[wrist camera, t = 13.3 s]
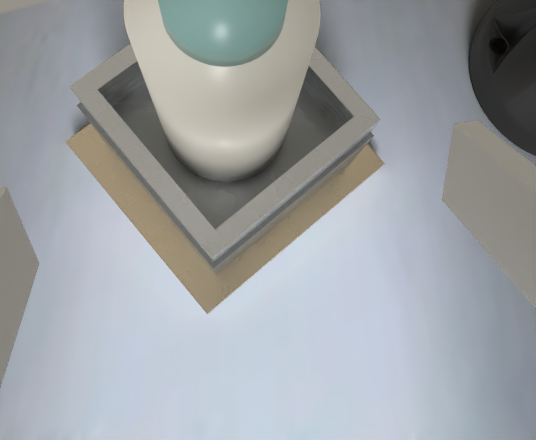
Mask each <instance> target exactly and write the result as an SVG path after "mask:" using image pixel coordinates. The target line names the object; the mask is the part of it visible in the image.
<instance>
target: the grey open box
mask: <svg viewBox="0 0 536 440" xmlns="http://www.w3.org/2000/svg"><path fill="white" fill-rule="evenodd" d="M69 87H70V88H71V90H72V91H73V92H74V94H75V95H76V97H77V98H78V99H79V101H80V102H81V103H79V104H78V105H77V106H78V107H79V109H80V110H81V111H82V113H83V114H84V115H85V117H86V118H87V119H88V121H89V122H90V124H89V125H88V126H86V127H85V128H83V129H82V130H81V131H79V132H78V133H77V134H75V135H74V136H73V137H71V138H70V139H68V140H67V141H66V143H67V144H68V146H69V147H70V148H71V149H72V150H73V152H74V153H75V154H76V155H77V157H78V158H79V159H80V160H81V161H82V163H83V164H84V165H85V166H86V167H87V169H88V170H89V171H90V172H91V174H92V175H93V176H94V177H95V178H96V180H97V181H98V182H99V183H100V184H101V186H102V187H103V188H104V189H105V191H106V192H107V193H108V194H109V195H110V197H111V198H112V199H113V200H114V201H115V203H116V204H117V205H118V206H119V208H120V209H121V210H122V211H123V212H124V214H125V215H126V216H127V217H128V218H129V220H130V221H131V222H132V223H133V225H134V226H135V227H136V228H137V229H138V231H139V232H140V233H141V234H142V235H143V237H144V238H145V239H146V240H147V242H148V243H149V244H150V245H151V246H152V248H153V249H154V250H155V251H156V252H157V254H158V255H159V256H160V257H161V259H162V260H163V261H164V262H165V263H166V265H167V266H168V267H169V268H170V269H171V271H172V272H173V273H174V274H175V276H176V277H177V278H178V279H179V280H180V282H181V283H182V284H183V285H184V286H185V288H186V289H187V290H188V291H189V293H190V294H191V295H192V296H193V297H194V299H195V300H196V301H197V302H198V303H199V305H200V306H201V307H202V308H203V310H204V311H205V312H206V313H207V314H209V313H210V312H211V311H212V310H213V309H214V308H216V307H217V306H218V305H219V304H220V303H221V302H223V301H224V300H225V299H226V298H227V297H229V296H230V295H231V294H232V293H233V292H234V291H236V290H237V289H238V288H239V287H240V286H242V285H243V284H244V283H245V282H246V281H247V280H249V279H250V278H251V277H252V276H253V275H254V274H256V273H257V272H258V271H259V270H260V269H262V268H263V267H264V266H265V265H266V264H267V263H269V262H270V261H271V260H272V259H273V258H275V257H276V256H277V255H278V254H279V253H280V252H282V251H283V250H284V249H285V248H286V247H288V246H289V245H290V244H291V243H292V242H293V241H295V240H296V239H297V238H298V237H299V236H300V235H302V234H303V233H304V232H305V231H306V230H308V229H309V228H310V227H311V226H312V225H313V224H315V223H316V222H317V221H318V220H319V219H321V218H322V217H323V216H324V215H325V214H326V213H328V212H329V211H330V210H331V209H332V208H333V207H335V206H336V205H337V204H338V203H339V202H341V201H342V200H343V199H344V198H345V197H346V196H348V195H349V194H350V193H351V192H352V191H354V190H355V189H356V188H357V187H358V186H359V185H361V184H362V183H363V182H364V181H365V180H366V179H368V178H369V177H370V176H371V175H372V174H374V173H375V172H376V171H377V170H378V169H379V168H380V167H381V166H382V165H383V164H384V162H383V161H382V160H381V159H380V158H379V156H378V155H377V154H376V153H375V152H374V151H373V150H372V149H371V147H370V146H369V145H368V144H367V143H368V142H369V141H370V140H371V138H372V137H373V136H374V135H373V134H372V133H371V130H372V129H373V128H374V127H375V125H376V124H377V123H378V122H379V120H380V118H379V117H378V116H377V115H376V114H375V113H374V111H373V110H372V109H371V108H370V107H369V106H368V105H367V104H366V103H365V101H364V100H363V99H362V98H361V97H360V96H359V95H358V94H357V93H356V91H355V90H354V89H353V88H352V87H351V86H350V85H349V84H348V83H347V81H346V80H345V79H344V78H343V77H342V76H341V75H340V74H339V73H338V71H337V70H336V69H335V68H334V67H333V66H332V65H331V64H330V63H329V61H328V60H327V59H326V58H325V57H324V56H323V55H322V54H321V52H320V51H319V50H318V49H317V48H316V47H314V50H313V54H312V57H311V60H310V63H309V66H308V69H307V72H306V75H305V78H304V82H303V85H302V88H301V91H300V94H299V97H298V100H297V103H296V106H295V109H294V113H293V116H292V119H291V122H290V125H289V128H288V131H287V134H286V137H285V141H284V143H283V146H282V148H281V150H280V152H279V153H278V155H277V156H276V158H275V159H274V160H273V161H272V162H271V163H270V164H269V165H268V166H267V167H266V168H265V169H263V170H262V171H260V172H259V173H257V174H255V175H253V176H251V177H248V178H245V179H241V180H237V181H216V180H211V179H208V178H204V177H202V176H200V175H197V174H196V173H194V172H192V171H191V170H189V169H188V168H187V167H185V166H184V165H183V164H182V163H181V162H180V161H179V160H178V159H177V157H176V156H175V155H174V153H173V152H172V150H171V148H170V146H169V144H168V141H167V139H166V136H165V133H164V131H163V128H162V125H161V123H160V120H159V117H158V115H157V112H156V109H155V107H154V104H153V101H152V99H151V96H150V93H149V91H148V88H147V85H146V83H145V80H144V77H143V75H142V72H141V69H140V67H139V64H138V61H137V59H136V56H135V53H134V51H133V48H132V45H131V43H130V44H129V45H127V46H126V47H124V48H123V49H122V50H120V51H119V52H117V53H116V54H115V55H113V56H112V57H110V58H109V59H108V60H106V61H105V62H103V63H102V64H100V65H99V66H98V67H96V68H95V69H93V70H92V71H91V72H89V73H88V74H86V75H85V76H84V77H82V78H81V79H79V80H78V81H76V82H75V83H74V84H72V85H71V86H69Z"/></svg>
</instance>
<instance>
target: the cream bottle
mask: <svg viewBox="0 0 536 440" xmlns="http://www.w3.org/2000/svg"><path fill="white" fill-rule="evenodd" d="M124 22H125V26H126V31H127V35H128V37H129V40H130V43H131V45H132V48H133V51H134V53H135V56H136V59H137V61H138V64H139V67H140V69H141V72H142V75H143V77H144V80H145V83H146V85H147V88H148V91H149V93H150V96H151V99H152V101H153V104H154V107H155V109H156V112H157V115H158V117H159V120H160V123H161V125H162V128H163V131H164V133H165V136H166V139H167V141H168V144H169V146H170V148H171V150H172V152H173V153H174V155H175V156H176V157H177V159H178V160H179V161H180V162H181V163H182V164H183V165H184V166H185V167H187V168H188V169H189V170H191V171H192V172H194V173H196V174H197V175H200V176H202V177H204V178H208V179H211V180H216V181H237V180H241V179H245V178H248V177H251V176H253V175H255V174H257V173H259V172H260V171H262V170H263V169H265V168H266V167H267V166H268V165H269V164H270V163H271V162H272V161H273V160H274V159H275V158H276V156H277V155H278V153H279V152H280V150H281V148H282V146H283V143H284V141H285V137H286V134H287V131H288V128H289V125H290V122H291V119H292V116H293V113H294V109H295V106H296V103H297V100H298V97H299V94H300V91H301V88H302V85H303V82H304V78H305V75H306V72H307V69H308V66H309V63H310V60H311V57H312V54H313V50H314V47H315V44H316V41H317V37H318V34H319V29H320V22H321V8H320V1H319V0H124Z"/></svg>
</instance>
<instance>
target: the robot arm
mask: <svg viewBox="0 0 536 440" xmlns="http://www.w3.org/2000/svg"><path fill="white" fill-rule="evenodd" d="M470 74H471V80H472V84H473V88H474V91H475V94H476V96H477V99H478V101H479V103H480V105H481V107H482V109H483V110H484V112H485V114H486V115H487V117H488V118H489V119H490V121H491V122H492V123H493V124H494V126H495V127H496V128H497V129H498V130H499V131H500V132H501V133H502V134H503V135H504V136H505V137H506V138H507V139H509V140H510V141H511V142H513V143H514V144H515V145H517V146H518V147H520V148H521V149H523V150H525V151H527V152H529V153H531V154H533V155H535V156H536V0H497V1H496V2H495V3H494V5H493V6H492V7H491V8H490V9H489V10H488V12H487V13H486V14H485V15H484V17H483V18H482V20H481V21H480V23H479V25H478V27H477V29H476V31H475V34H474V37H473V40H472V44H471V50H470ZM442 200H443V202H444V203H445V204H446V205H447V206H448V207H449V208H450V210H451V211H452V212H453V213H454V214H455V215H456V217H457V218H458V219H459V220H460V221H461V222H462V224H463V225H464V226H465V227H466V228H467V229H468V231H469V232H470V233H471V234H472V235H473V236H474V238H475V239H476V240H477V241H478V242H479V243H480V245H481V246H482V247H483V248H484V249H485V250H486V252H487V253H488V254H489V255H490V256H491V257H492V258H493V260H494V261H495V262H496V263H497V264H498V265H499V267H500V268H501V269H502V270H503V271H504V272H505V274H506V275H507V276H508V277H509V278H510V279H511V281H512V282H513V283H514V284H515V285H516V286H517V288H518V289H519V290H520V291H521V292H522V293H523V295H524V296H525V297H526V298H527V299H528V300H529V302H530V303H531V304H532V305H533V306H534V307H535V309H536V166H535V165H534V164H533V163H532V162H530V161H529V160H528V159H526V158H525V157H524V156H523V155H521V154H520V153H519V152H517V151H516V150H515V149H514V148H512V147H511V146H510V145H508V144H507V143H506V142H505V141H503V140H502V139H501V138H500V137H498V136H497V135H496V134H494V133H493V132H492V131H491V130H489V129H488V128H487V127H485V126H484V125H483V124H482V123H480V122H479V121H478V120H476V121H469V122H462V123H455V124H454V126H453V132H452V139H451V145H450V151H449V158H448V164H447V171H446V177H445V184H444V190H443V196H442ZM38 266H39V261H38V259H37V257H36V254H35V252H34V250H33V247H32V245H31V243H30V240H29V238H28V236H27V233H26V231H25V229H24V226H23V224H22V222H21V219H20V217H19V215H18V212H17V210H16V208H15V205H14V203H13V201H12V198H11V196H10V194H9V191H8V189H7V187H4V188H0V387H1V384H2V381H3V378H4V374H5V371H6V368H7V365H8V362H9V358H10V355H11V352H12V349H13V346H14V343H15V339H16V336H17V333H18V330H19V327H20V323H21V320H22V317H23V314H24V311H25V307H26V304H27V301H28V298H29V295H30V292H31V288H32V285H33V282H34V279H35V276H36V272H37V269H38Z"/></svg>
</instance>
